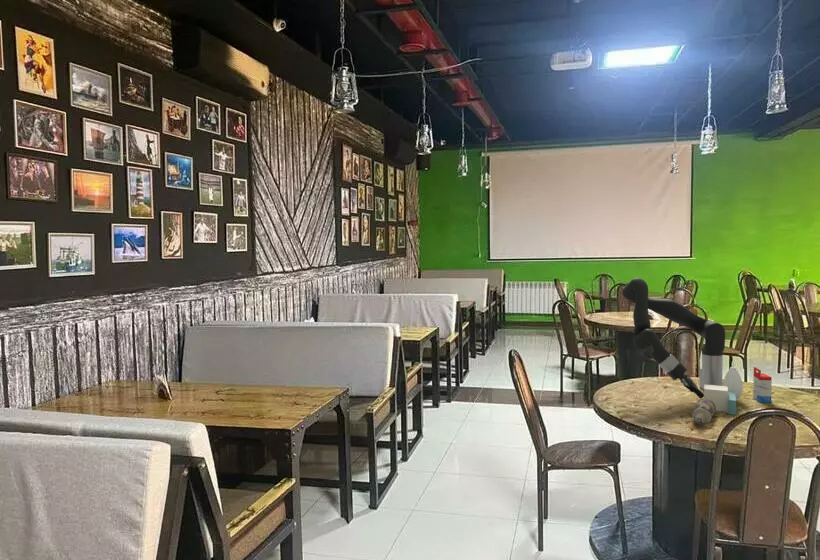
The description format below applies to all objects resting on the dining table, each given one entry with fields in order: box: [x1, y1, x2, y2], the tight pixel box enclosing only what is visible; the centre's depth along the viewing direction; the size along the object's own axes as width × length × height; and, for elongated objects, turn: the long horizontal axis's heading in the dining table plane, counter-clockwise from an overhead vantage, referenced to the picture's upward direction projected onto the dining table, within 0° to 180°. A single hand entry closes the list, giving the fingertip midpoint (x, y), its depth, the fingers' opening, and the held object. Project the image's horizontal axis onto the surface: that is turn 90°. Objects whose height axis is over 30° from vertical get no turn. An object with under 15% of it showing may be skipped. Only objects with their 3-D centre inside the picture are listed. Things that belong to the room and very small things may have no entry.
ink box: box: [752, 366, 773, 404], centre depth 265 cm, size 8×5×15 cm, turn 168°
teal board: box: [727, 391, 737, 416], centre depth 251 cm, size 3×16×6 cm, turn 153°
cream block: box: [703, 384, 728, 413], centre depth 254 cm, size 9×9×9 cm
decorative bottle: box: [690, 397, 716, 425], centre depth 235 cm, size 26×8×7 cm, turn 146°
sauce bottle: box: [722, 361, 744, 402], centre depth 264 cm, size 8×8×18 cm
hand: (702, 397), depth 256 cm, fingers closed
